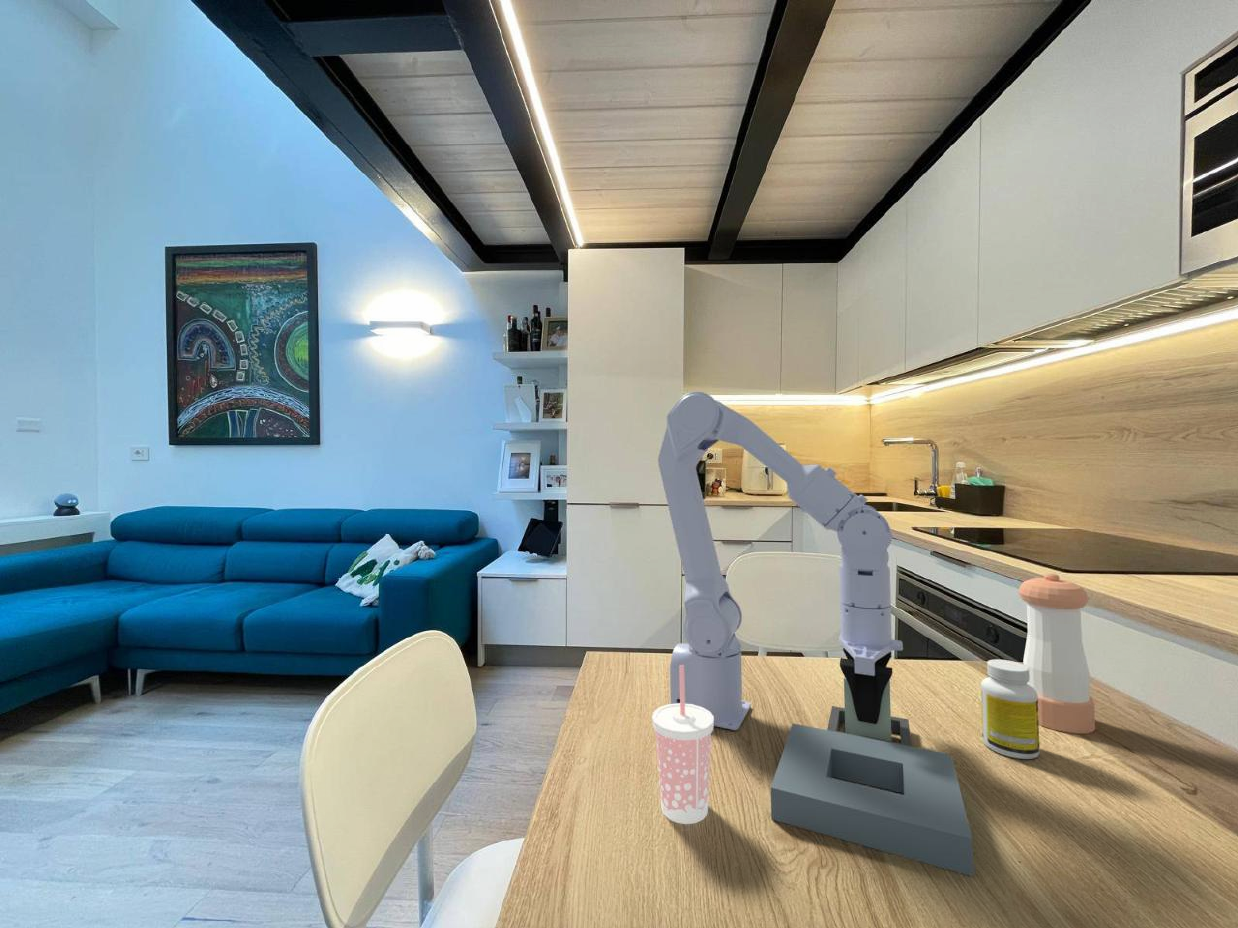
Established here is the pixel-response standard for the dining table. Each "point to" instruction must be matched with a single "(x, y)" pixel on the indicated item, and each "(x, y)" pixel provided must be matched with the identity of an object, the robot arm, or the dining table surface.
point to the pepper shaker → (1058, 654)
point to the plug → (862, 728)
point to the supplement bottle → (1009, 710)
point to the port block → (874, 796)
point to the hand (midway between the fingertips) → (867, 713)
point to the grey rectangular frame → (896, 726)
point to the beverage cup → (683, 758)
